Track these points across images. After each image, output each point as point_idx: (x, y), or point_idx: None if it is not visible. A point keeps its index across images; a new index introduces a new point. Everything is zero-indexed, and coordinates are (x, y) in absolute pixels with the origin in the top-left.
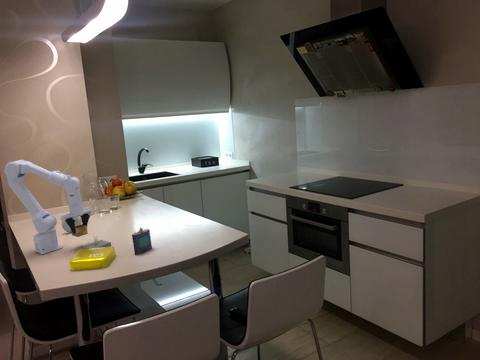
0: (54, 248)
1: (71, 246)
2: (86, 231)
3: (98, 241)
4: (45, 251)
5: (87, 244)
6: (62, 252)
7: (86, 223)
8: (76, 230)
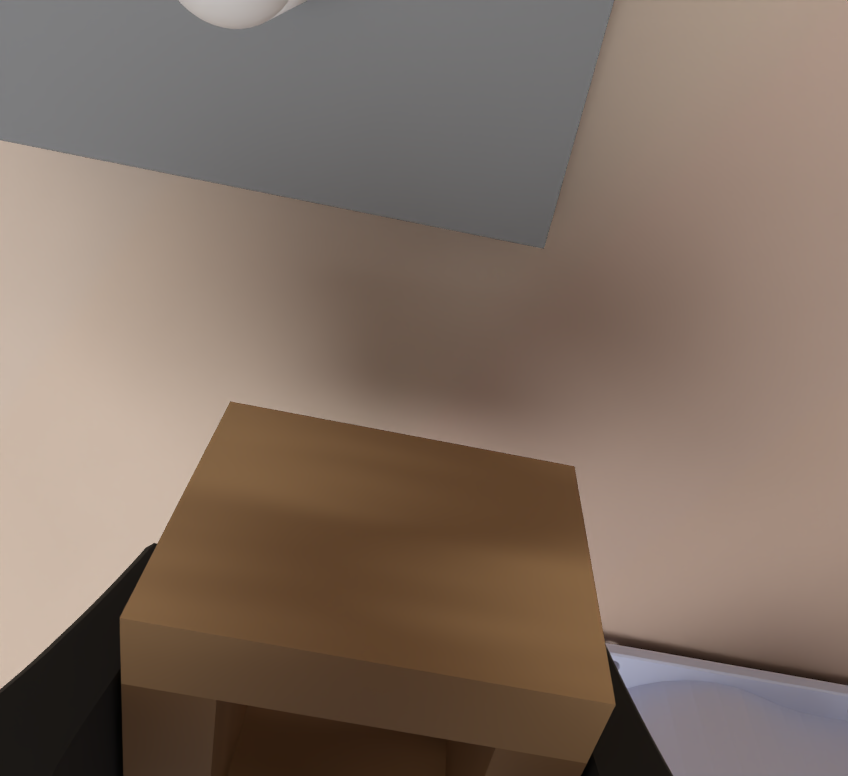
0: (706, 692)
1: None
2: (236, 463)
3: (111, 107)
4: (834, 722)
5: (397, 216)
6: (771, 482)
7: (26, 734)
8: (599, 645)
